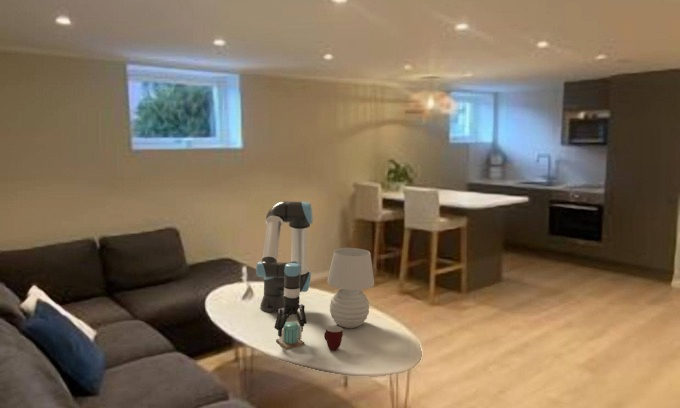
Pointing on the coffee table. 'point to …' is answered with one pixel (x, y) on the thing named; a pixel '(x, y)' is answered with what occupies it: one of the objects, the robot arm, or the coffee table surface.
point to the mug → (333, 337)
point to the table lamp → (350, 286)
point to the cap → (290, 333)
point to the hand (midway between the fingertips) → (290, 340)
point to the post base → (291, 344)
